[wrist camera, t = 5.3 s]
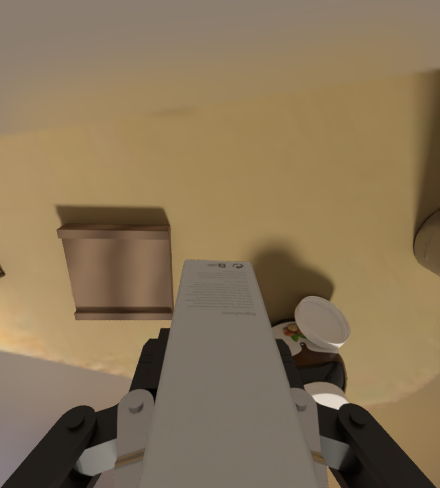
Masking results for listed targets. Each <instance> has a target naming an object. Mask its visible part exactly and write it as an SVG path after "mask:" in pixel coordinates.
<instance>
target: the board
mask: <svg viewBox="0 0 440 488" xmlns="http://www.w3.org/2000/svg"><path fill="white" fill-rule="evenodd" d="M57 234H58V238H62V243H63V247H64V252H65V257H66V262H67V267H68V272H69V277H70V281H71V286H72V291H73V296H74V301H75V306H76V312H75V313H74V315H75V319H76V320H172V317H173V312H174V302H173V278H172V253H171V229H170V226H165V225H106V224H65V225H63V226H62V227H60V228H59V229H57Z"/></svg>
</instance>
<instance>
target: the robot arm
mask: <svg viewBox="0 0 440 488" xmlns="http://www.w3.org/2000/svg"><path fill="white" fill-rule="evenodd" d="M414 252H415V256H416V259H417V260H418V262H419V263H420V264H421V265H422V266H423V267H425V268H427V269H428V270H430V271H431V272H433V273H435V274H436V275H438V276H440V210H438V211H437V212H435V213H434V214H433V215H432V216H430V217H429V218H428V219H427V220H426V222H425V223H424V224H423V225H422V227H421V228H420V230H419V232H418V234H417V236H416V239H415V244H414ZM169 333H170V328H161V329H160V333H159V337H158V339H149V340H148V341H147V342H146V344H145V345H144V346H143V349H142V352H141V356H140V358H139V361H138V365H137V368H136V371H135V374H134V377H133V380H132V384H131V387H130V390H129V392H128V393H127V394H126V395H125V396H124V397H123V398H122V399H121V401H120V402H119V403H118V404H117V405H115V406H113V407H110V408H108V409H104V410H101V411H98V412H95V411H94V409H93V408H92V407H89V406H84V405H83V406H77V407H75V408H72V409H70V410H69V411H67V412H66V413H65V414H64V415H62V417H61V418H60V419H59V420H58V421H57V422H56V423H55V425H54V426H53V427H52V428H51V430H49V432H48V433H47V434H46V435H45V436H44V438H43V439H42V440H41V441H40V442H39V444H38V445H37V446H36V447H35V448H34V449H33V450H32V452H31V453H30V454H29V455H28V456H27V458H26V459H25V460H24V461H23V462H22V463H21V465H20V466H19V467H18V468H17V469H16V471H15V472H14V473H13V474H12V475H11V476H10V477H9V479H8V480H7V481H6V482H5V483H4V485H3V486H2V487H1V488H93V487H94V485H95V483H96V482H97V480H98V479H99V477H100V475H101V473H102V472H104V471H106V470H109V469H111V468H114V488H137V487H138V482H139V477H140V472H141V467H142V462H143V457H144V452H145V448H146V443H147V438H148V433H149V428H150V424H151V419H152V414H153V409H154V405H155V401H156V395H157V390H158V386H159V381H160V376H161V371H162V366H163V362H164V357H165V352H166V347H167V342H168V338H169ZM275 340H276V344H277V347H278V350H279V353H280V356H281V359H282V362H283V366H284V369H285V372H286V375H287V379H288V382H289V385H290V388H291V391H292V395H293V398H294V401H295V404H296V407H297V410H298V413H299V416H300V419H301V422H302V426H303V429H304V432H305V435H306V438H307V441H308V445H309V448H310V451H311V454H312V458H313V461H314V464H315V468H316V471H317V475H318V478H319V482H320V485H321V488H329V487H328V477H327V468H326V466H328V467H329V469H330V470H331V472H332V473H333V475H334V477H335V478H336V480H337V482H338V483H339V485H340V486H341V488H436V487H435V486H434V485H433V483H431V481H430V480H429V479H428V478H427V477H426V476H425V475H424V473H423V472H422V471H421V470H420V469H419V468H418V467H417V466H416V464H415V463H414V462H413V461H412V460H411V459H410V458H409V457H408V456H407V454H406V453H405V452H404V451H403V450H402V449H401V448H400V447H399V445H398V444H397V443H396V442H395V441H394V440H393V439H392V438H391V437H390V436H389V434H388V433H387V432H386V431H385V430H384V429H383V428H382V426H381V425H380V424H379V423H378V422H377V421H376V420H375V419H374V418H373V416H372V415H371V414H370V413H369V412H368V411H367V410H365V409H364V408H362V407H361V406H359V405H356V404H352V403H346V404H343V405H342V406H340V408H339V410H338V409H334V408H331V407H327V406H324V405H321V404H319V403H318V402H316V401H315V400H314V398H313V397H312V396H311V395H310V394H309V393H308V392H306V390H305V388H304V385H303V383H302V380H301V377H300V375H299V372H298V369H297V367H296V364H295V362H294V359H293V356H292V353H291V351H290V348H289V346H288V345H287V344H286V343H285V342H284V340H283V339H275Z"/></svg>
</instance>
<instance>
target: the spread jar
mask: <svg viewBox="0 0 440 488" xmlns="http://www.w3.org/2000/svg"><path fill="white" fill-rule="evenodd" d="M271 328H272V331H273V334H274V337H275V339H283V340H284V342H285V343H286V344H287V345H288V346H289V348H290V351H291V353H292V356H293V359H294V362H295V364H296V367H297V369H298V372H299V375H300V377H301V380H302V383H303V385H304V388H305V390H306V392H308V393H309V394H310V395H311V396H312V397H313V398H314V400H315V401H316V402H318V403H319V404H321V405H324V406H327V407H331V408H334V409H338V410H339V408H340V406H342V405H343V404H346V403H349V402H348V400H347V398H346V396H345V392H346V387H347V373H346V369H345V365H344V361H343V359H342V357H341V355H340V353H339V351H338V349H337V348H338V347H340V346H341V345H343V344H344V343H345V342H346V341H347V340H348V339H349V336H350V326H349V323H348V321H347V319H346V317H345V316H344V314H343V313H342V312H341V311H340V310H339V309H338V308H337V307H336V306H335V305H334V304H332V303H331V302H330V301H328V300H326V299H324V298H321V297H317V296H308V297H305V298H304V299H302V300H301V302H300V303H299V304H298V306H297V307H296V309H295V319H286V320H282V321H279V322H277V323H275V324H273V325H271Z"/></svg>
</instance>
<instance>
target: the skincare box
mask: <svg viewBox="0 0 440 488" xmlns="http://www.w3.org/2000/svg"><path fill="white" fill-rule="evenodd" d="M137 488H321V485H320V482H319V478H318V475H317V471H316V468H315V464H314V461H313V458H312V454H311V451H310V448H309V445H308V441H307V438H306V435H305V432H304V429H303V426H302V422H301V419H300V416H299V413H298V410H297V407H296V404H295V401H294V398H293V395H292V391H291V388H290V385H289V382H288V379H287V375H286V372H285V369H284V366H283V362H282V359H281V356H280V353H279V350H278V347H277V344H276V340H275V337H274V334H273V331H272V328H271V324H270V321H269V318H268V315H267V312H266V308H265V305H264V302H263V298H262V295H261V292H260V289H259V285H258V282H257V279H256V276H255V273H254V270H253V266H252V263H251V262H240V261H211V260H185V262H184V265H183V270H182V275H181V280H180V285H179V290H178V295H177V299H176V304H175V309H174V313H173V318H172V323H171V328H170V333H169V338H168V342H167V347H166V352H165V357H164V362H163V366H162V371H161V376H160V381H159V386H158V390H157V395H156V401H155V405H154V409H153V414H152V419H151V424H150V428H149V433H148V438H147V443H146V448H145V452H144V457H143V462H142V467H141V472H140V477H139V482H138V487H137Z"/></svg>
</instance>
